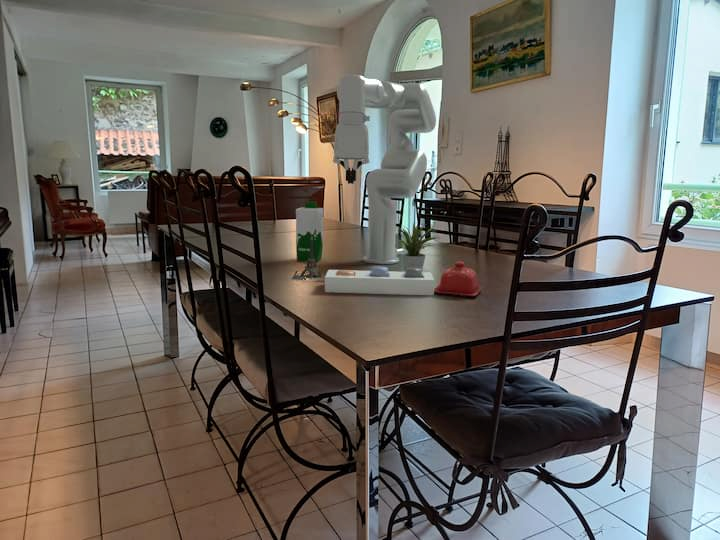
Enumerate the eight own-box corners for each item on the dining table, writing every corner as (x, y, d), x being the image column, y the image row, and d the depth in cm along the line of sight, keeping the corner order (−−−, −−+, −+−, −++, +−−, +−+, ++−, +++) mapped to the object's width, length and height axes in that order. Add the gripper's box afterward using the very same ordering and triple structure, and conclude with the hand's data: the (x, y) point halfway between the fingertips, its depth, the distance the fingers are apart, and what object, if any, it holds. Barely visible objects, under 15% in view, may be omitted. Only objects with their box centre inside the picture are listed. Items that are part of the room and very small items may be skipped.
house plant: (412, 282, 148) (414, 225, 145) (378, 274, 158) (380, 220, 155) (444, 276, 157) (447, 222, 154) (411, 269, 167) (413, 218, 164)
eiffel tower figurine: (295, 272, 161) (295, 229, 159) (328, 273, 161) (328, 230, 159) (290, 283, 146) (289, 235, 144) (326, 283, 147) (326, 236, 144)
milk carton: (324, 259, 183) (325, 202, 179) (318, 263, 174) (318, 203, 171) (300, 257, 185) (300, 201, 181) (293, 262, 176) (293, 202, 172)
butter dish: (430, 295, 134) (432, 263, 133) (442, 286, 145) (443, 256, 143) (475, 300, 130) (477, 267, 128) (483, 291, 140) (485, 260, 139)
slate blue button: (387, 278, 140) (387, 266, 139) (387, 281, 136) (388, 269, 135) (371, 277, 140) (371, 266, 140) (371, 281, 136) (371, 269, 135)
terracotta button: (354, 281, 141) (354, 270, 140) (353, 285, 136) (353, 273, 136) (337, 281, 141) (338, 269, 140) (336, 284, 136) (336, 272, 136)
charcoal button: (420, 279, 140) (421, 267, 139) (422, 282, 136) (422, 270, 135) (404, 278, 140) (405, 267, 139) (405, 282, 136) (405, 270, 135)
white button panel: (429, 286, 143) (430, 272, 142) (433, 295, 133) (434, 280, 132) (328, 283, 144) (328, 269, 143) (324, 292, 134) (324, 277, 133)
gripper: (377, 121, 155) (375, 183, 159) (327, 120, 156) (327, 182, 159) (377, 119, 148) (375, 184, 151) (325, 118, 148) (324, 183, 152)
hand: (350, 183), depth 155 cm, fingers closed
